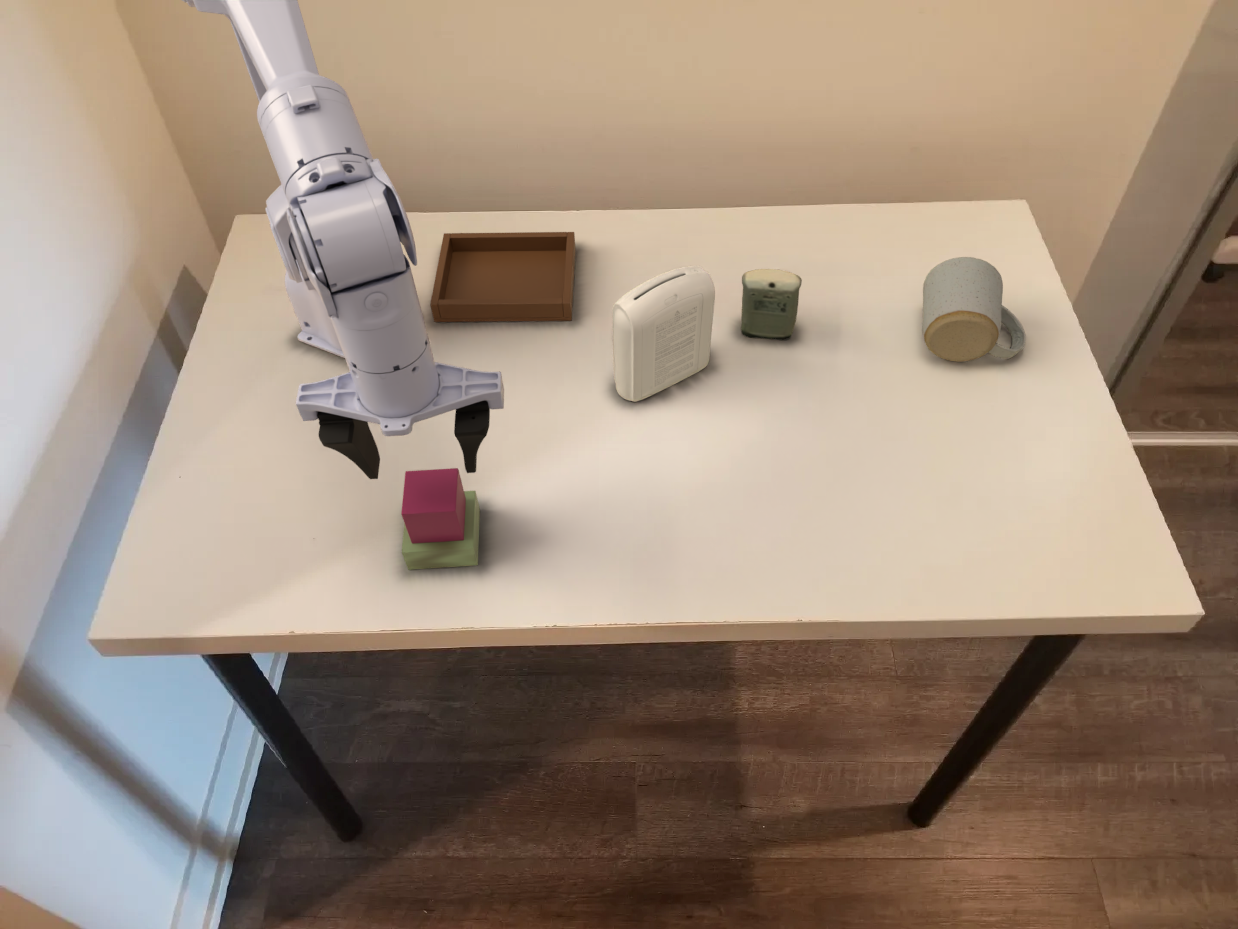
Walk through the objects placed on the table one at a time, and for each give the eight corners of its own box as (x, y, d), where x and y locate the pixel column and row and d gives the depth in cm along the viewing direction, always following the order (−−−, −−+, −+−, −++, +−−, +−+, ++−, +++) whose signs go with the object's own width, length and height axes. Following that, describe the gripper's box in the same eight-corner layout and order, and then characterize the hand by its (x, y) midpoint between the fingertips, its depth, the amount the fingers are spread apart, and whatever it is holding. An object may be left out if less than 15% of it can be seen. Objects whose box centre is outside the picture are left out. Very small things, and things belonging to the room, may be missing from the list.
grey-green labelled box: (751, 357, 95) (759, 298, 88) (727, 324, 98) (733, 265, 91) (800, 340, 96) (811, 280, 90) (774, 308, 99) (783, 248, 93)
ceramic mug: (913, 362, 94) (934, 305, 88) (914, 306, 99) (934, 249, 92) (1022, 377, 92) (1051, 320, 86) (1018, 320, 97) (1044, 263, 91)
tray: (434, 322, 99) (429, 304, 97) (447, 250, 106) (443, 232, 104) (571, 320, 98) (570, 303, 96) (575, 249, 106) (574, 231, 104)
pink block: (411, 543, 78) (400, 514, 75) (415, 501, 81) (405, 470, 78) (463, 540, 79) (455, 510, 75) (466, 498, 81) (458, 467, 78)
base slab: (408, 570, 80) (401, 552, 78) (413, 512, 84) (406, 494, 82) (477, 565, 80) (473, 548, 78) (479, 508, 84) (475, 490, 82)
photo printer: (690, 341, 96) (695, 246, 86) (715, 366, 94) (724, 271, 84) (607, 383, 93) (602, 289, 83) (631, 410, 91) (629, 316, 81)
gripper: (267, 393, 60) (324, 513, 71) (491, 380, 61) (514, 501, 71) (284, 318, 65) (336, 441, 75) (493, 305, 65) (515, 430, 76)
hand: (423, 466), depth 74 cm, fingers open, 7 cm apart
